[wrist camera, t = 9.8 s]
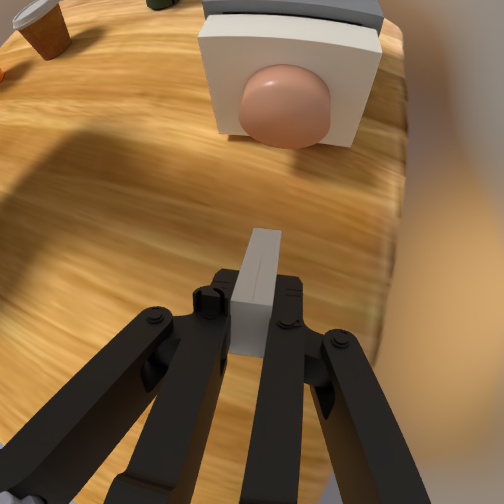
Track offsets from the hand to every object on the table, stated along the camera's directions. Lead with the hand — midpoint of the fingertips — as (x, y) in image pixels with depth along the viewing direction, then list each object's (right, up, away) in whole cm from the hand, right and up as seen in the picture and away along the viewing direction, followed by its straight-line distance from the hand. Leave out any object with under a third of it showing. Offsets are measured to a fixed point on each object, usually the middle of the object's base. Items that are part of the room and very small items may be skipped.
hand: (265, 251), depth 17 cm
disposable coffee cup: (-37, +38, +24) cm, 58 cm away
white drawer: (+3, +18, +14) cm, 23 cm away
